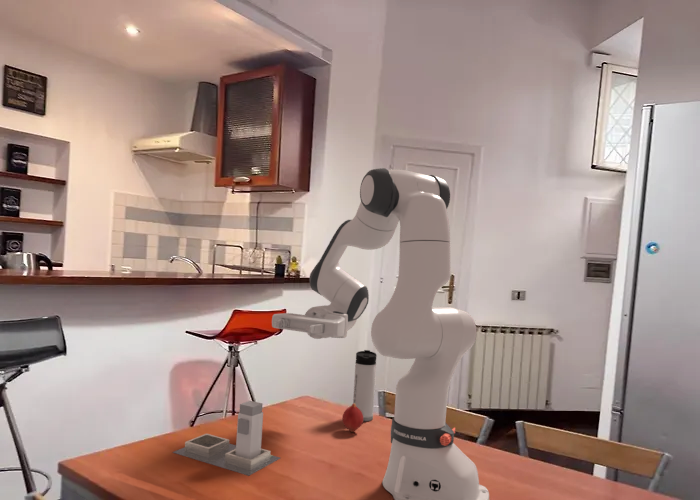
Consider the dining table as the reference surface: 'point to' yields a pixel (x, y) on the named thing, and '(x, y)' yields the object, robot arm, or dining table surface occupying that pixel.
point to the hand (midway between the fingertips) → (292, 327)
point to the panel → (224, 454)
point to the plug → (249, 430)
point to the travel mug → (365, 383)
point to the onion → (352, 418)
